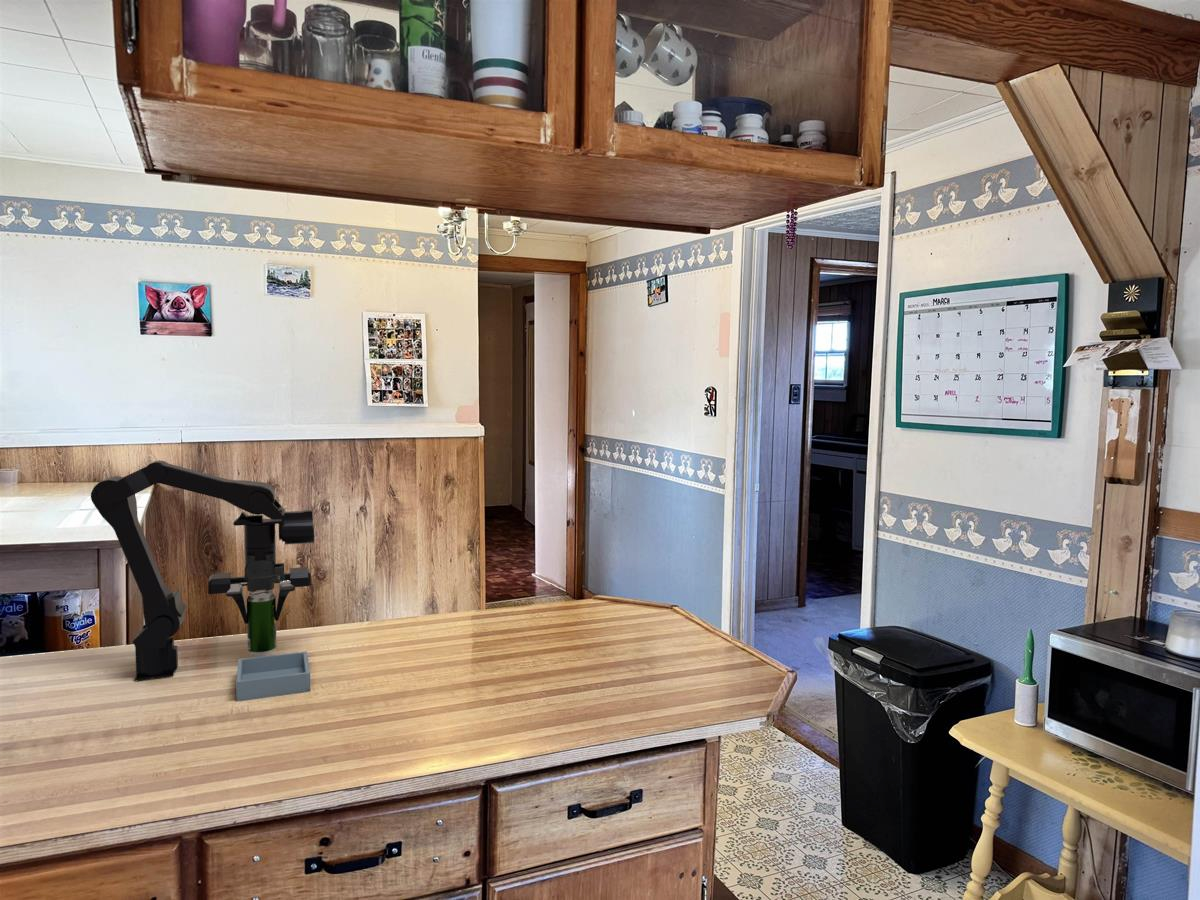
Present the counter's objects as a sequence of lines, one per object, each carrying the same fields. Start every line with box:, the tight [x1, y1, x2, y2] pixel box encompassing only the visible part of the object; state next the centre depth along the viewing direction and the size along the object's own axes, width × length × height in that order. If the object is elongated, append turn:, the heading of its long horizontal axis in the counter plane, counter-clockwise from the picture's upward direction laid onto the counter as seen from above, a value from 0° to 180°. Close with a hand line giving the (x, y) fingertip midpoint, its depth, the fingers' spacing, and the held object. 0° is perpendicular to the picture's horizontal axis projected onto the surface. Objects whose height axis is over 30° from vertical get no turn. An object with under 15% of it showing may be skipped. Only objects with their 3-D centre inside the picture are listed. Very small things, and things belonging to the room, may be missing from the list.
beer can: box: [246, 590, 278, 656], centre depth 156 cm, size 5×5×12 cm
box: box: [235, 650, 311, 702], centre depth 146 cm, size 12×12×4 cm
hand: (261, 621), depth 156 cm, fingers closed on beer can, 5 cm apart
